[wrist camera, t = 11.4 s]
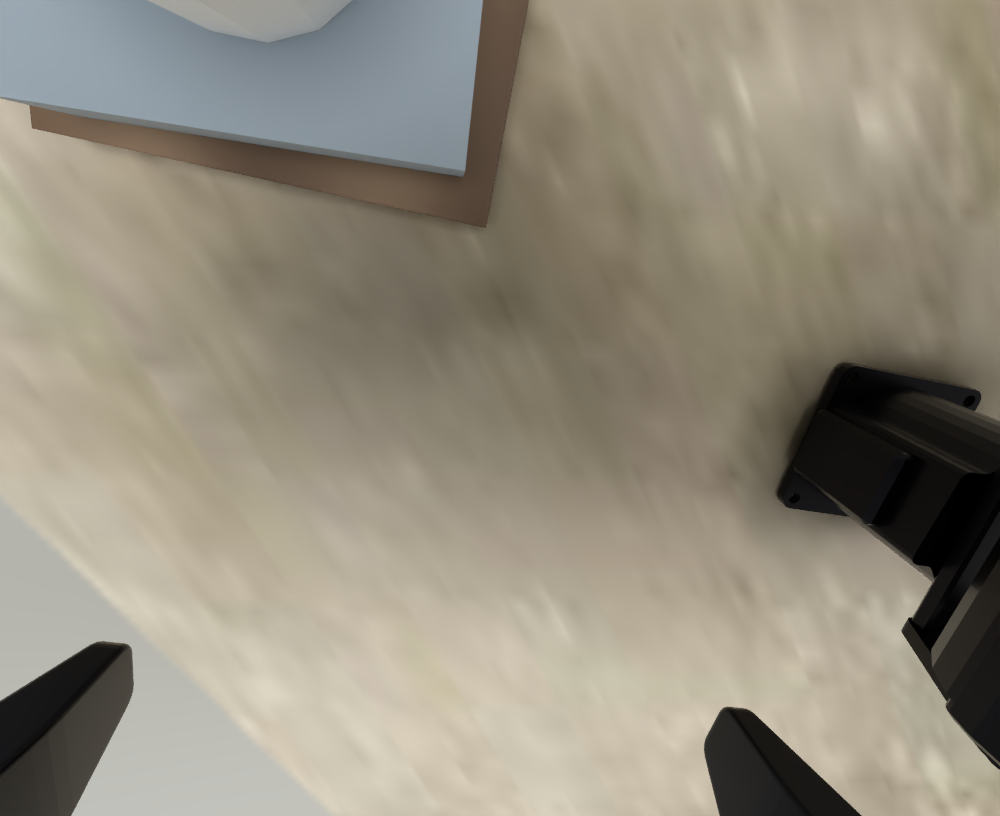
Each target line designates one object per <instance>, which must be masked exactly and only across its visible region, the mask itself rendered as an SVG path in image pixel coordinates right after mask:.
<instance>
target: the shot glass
mask: <svg viewBox="0 0 1000 816" xmlns="http://www.w3.org/2000/svg"><path fill="white" fill-rule="evenodd" d="M148 1H150V2H152V3H154V4H156V5H158V6H161V7H163V8H165V9H167V10H169V11H171V12H173V13H175V14H177V15H179V16H181V17H183V18H185V19H187V20H189V21H191V22H193V23H196V24H198V25H200V26H202V27H204V28H206V29H208V30H210V31H213V32H218V33H222V34H227V35H232V36H237V37H242V38H247V39H251V40H256V41H261V42H266V43H270V42H274V41H278V40H282V39H285V38H289V37H293V36H297V35H301V34H305V33H309V32H313V31H316V30H320V29H321V28H322V27H323V26H324V25H326V24H327V23H328V22H329V21H330V20H331V19H332V18H333V17H334V16H335V15H337V14H338V13H339V12H340V11H341V10H342V9H343V8H344V7H345V6H347V5H348V4H349V3H350V2H351V1H352V0H148Z"/></svg>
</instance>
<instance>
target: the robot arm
mask: <svg viewBox="0 0 1000 816" xmlns="http://www.w3.org/2000/svg"><path fill="white" fill-rule="evenodd" d="M850 373H851V377H850V378H849V379H848V380H846V378H847V376H848V375H849V374H850ZM964 399H965V400H964ZM980 400H981V394H980V392H979V391H977V390H975V389H972V388H969V387H966V386H961V385H956V384H951V383H946V382H941V381H936V380H931V379H926V378H921V377H916V376H911V375H906V374H901V373H896V372H891V371H886V370H881V369H876V368H872V367H867V366H862V365H857V364H852V363H846V364H843V365H841V366H840V367H839V368H837V370H836V371H835V373H834V375H833V377H832V379H831V381H830V383H829V385H828V387H827V390H826V392H825V394H824V396H823V398H822V400H821V402H820V405H819V407H818V409H817V411H816V413H815V415H814V417H813V420H812V422H811V424H810V426H809V428H808V430H807V432H806V434H805V437H804V439H803V441H802V443H801V445H800V447H799V449H798V452H797V454H796V456H795V458H794V460H793V462H792V464H791V467H790V469H789V471H788V473H787V475H786V477H785V479H784V482H783V484H782V486H781V488H780V490H779V493H778V499H779V500H780V501H781V502H782V503H783V504H784V505H785V506H786V507H788V508H793V509H800V510H807V511H813V512H820V513H827V514H834V515H841V516H848V517H851V518H852V519H853V520H855V521H856V522H857V523H858V524H860V525H861V526H862V527H863V528H865V529H866V530H867V531H869V532H870V533H871V534H872V535H874V536H875V537H876V538H877V539H879V540H880V541H881V542H883V543H884V544H885V545H886V546H888V547H889V548H890V549H891V550H893V551H894V552H895V553H896V554H898V555H899V556H900V557H902V558H903V559H904V560H905V561H907V562H908V563H909V564H910V565H912V566H913V567H914V568H915V569H917V570H918V571H919V572H921V573H922V574H923V575H924V576H926V577H927V578H928V579H929V580H931V581H932V582H933V583H932V584H931V586H930V588H929V590H928V591H927V593H926V595H925V597H924V599H923V600H922V602H921V604H920V606H919V607H918V609H917V611H916V613H915V614H914V616H913V618H912V617H911V618H908V620H907V621H906V623H905V625H904V627H903V629H902V630H901V631H902V633H903V635H904V636H905V638H906V639H907V641H908V642H909V644H910V646H911V647H912V649H913V650H914V652H915V653H916V655H917V656H918V658H919V659H920V661H921V663H922V664H923V666H924V667H925V669H926V670H927V672H928V673H929V675H930V676H931V678H932V680H933V681H934V683H935V684H936V686H937V687H938V689H939V690H940V692H941V693H942V695H943V697H944V698H945V700H946V701H947V703H946V709H947V710H948V712H949V714H950V715H951V717H952V718H953V720H954V721H955V722H956V723H957V724H958V725H959V726H960V727H961V729H962V730H963V731H964V732H965V733H966V734H967V735H968V736H969V737H970V739H971V740H972V741H973V742H974V743H975V744H976V745H977V747H978V748H979V749H980V750H981V752H982V753H983V754H984V755H985V756H986V757H987V758H988V759H989V761H990V762H991V763H992V764H993V765H994V766H996V767H997V768H998V769H1000V421H998V420H995V419H993V418H990V417H988V416H985V415H983V414H980V413H978V412H975V410H976V408H977V406H978V405H979V403H980ZM792 494H794V495H793V496H792V497H790V496H791V495H792ZM789 497H790V498H789ZM133 685H134V682H133V662H132V649H131V647H130V646H129V645H128V644H124V643H114V642H105V641H102V642H96V643H94V644H91V645H90V646H88V647H86V648H84V649H83V650H81V651H80V652H78V653H76V654H75V655H73V656H72V657H70V658H68V659H67V660H65V661H63V662H62V663H60V664H59V665H57V666H56V667H54V668H52V669H51V670H49V671H47V672H46V673H44V674H43V675H41V676H39V677H38V678H36V679H35V680H33V681H31V682H30V683H28V684H27V685H25V686H23V687H22V688H20V689H19V690H17V691H15V692H14V693H12V694H11V695H9V696H7V697H6V698H4V699H3V700H1V701H0V816H71V815H72V813H73V811H74V809H75V807H76V805H77V803H78V801H79V800H80V798H81V796H82V794H83V792H84V790H85V788H86V786H87V784H88V781H89V780H90V778H91V776H92V774H93V772H94V770H95V768H96V766H97V764H98V763H99V761H100V759H101V757H102V755H103V753H104V751H105V749H106V747H107V745H108V743H109V741H110V739H111V737H112V735H113V733H114V731H115V729H116V727H117V726H118V724H119V722H120V720H121V718H122V716H123V714H124V712H125V710H126V708H127V706H128V704H129V701H130V699H131V696H132V693H133ZM704 752H705V759H706V763H707V767H708V771H709V775H710V779H711V783H712V787H713V791H714V795H715V799H716V803H717V807H718V811H719V815H720V816H861V815H860V814H859V813H858V812H857V811H856V810H855V809H854V808H853V807H852V806H851V805H850V804H849V803H848V802H847V801H846V800H844V799H843V798H842V797H841V796H840V795H839V794H838V793H837V792H836V791H835V790H834V789H833V788H832V787H831V786H830V785H829V784H828V783H827V782H826V781H824V780H823V779H822V778H821V777H820V776H819V775H818V774H817V773H816V772H815V771H814V770H813V769H812V768H811V767H810V766H809V765H808V764H807V763H806V762H804V761H803V760H802V759H801V758H800V757H799V756H798V755H797V754H796V753H795V752H794V751H793V750H792V749H791V748H790V747H789V746H788V745H787V744H786V743H784V742H783V741H782V740H781V739H780V738H779V737H778V736H777V735H776V734H775V733H774V732H773V731H772V730H771V729H770V728H769V727H768V726H767V725H766V724H765V723H763V722H762V721H761V720H760V719H759V718H758V717H757V716H756V715H755V714H754V713H753V712H751V711H750V710H747V709H744V708H735V707H725V708H723V709H722V710H721V711H720V712H719V714H718V716H717V718H716V720H715V722H714V724H713V725H712V727H711V729H710V731H709V733H708V735H707V737H706V739H705V744H704Z"/></svg>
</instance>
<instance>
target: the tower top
mask: <svg viewBox="0 0 1000 816" xmlns="http://www.w3.org/2000/svg"><path fill="white" fill-rule="evenodd" d="M482 5H483V0H352V1H351V2H350V3H349V4H348V5H347V6H345V7H344V8H343V9H342V10H341V11H340V12H339V13H338V14H337V15H335V16H334V17H333V18H332V19H331V20H330V21H329V22H328V23H327V24H326V25H324V26H323V27H322V28H321V29H320V30H316V31H313V32H309V33H305V34H301V35H297V36H293V37H289V38H285V39H282V40H278V41H274V42H270V43H266V42H261V41H256V40H251V39H247V38H242V37H237V36H232V35H227V34H222V33H218V32H213V31H210V30H208V29H206V28H204V27H202V26H200V25H198V24H196V23H193V22H191V21H189V20H187V19H185V18H183V17H181V16H179V15H177V14H175V13H173V12H171V11H169V10H167V9H165V8H163V7H161V6H158V5H156V4H154V3H152V2H150V1H148V0H0V98H1V99H6V100H10V101H14V102H19V103H23V104H27V105H32V106H36V107H40V108H44V109H49V110H53V111H57V112H62V113H66V114H70V115H75V116H80V117H86V118H92V119H99V120H105V121H111V122H118V123H124V124H130V125H137V126H143V127H149V128H156V129H162V130H168V131H175V132H181V133H187V134H194V135H200V136H206V137H213V138H219V139H225V140H232V141H238V142H244V143H251V144H257V145H263V146H270V147H276V148H282V149H289V150H295V151H301V152H308V153H314V154H320V155H326V156H333V157H339V158H345V159H352V160H358V161H364V162H371V163H377V164H383V165H390V166H396V167H402V168H409V169H415V170H421V171H428V172H434V173H440V174H447V175H453V176H459V177H463V175H464V173H465V167H466V158H467V148H468V139H469V129H470V120H471V110H472V100H473V91H474V81H475V72H476V62H477V53H478V43H479V34H480V24H481V14H482Z"/></svg>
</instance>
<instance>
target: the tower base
mask: <svg viewBox="0 0 1000 816" xmlns="http://www.w3.org/2000/svg"><path fill="white" fill-rule="evenodd" d="M528 1H529V0H483V5H482V14H481V24H480V34H479V43H478V53H477V62H476V72H475V81H474V91H473V100H472V110H471V120H470V129H469V139H468V148H467V158H466V167H465V173H464V175H463V177H459V176H453V175H447V174H440V173H434V172H428V171H421V170H415V169H409V168H402V167H396V166H390V165H383V164H377V163H371V162H364V161H358V160H352V159H345V158H339V157H333V156H326V155H320V154H314V153H308V152H301V151H295V150H289V149H282V148H276V147H270V146H263V145H257V144H251V143H244V142H238V141H232V140H225V139H219V138H213V137H206V136H200V135H194V134H187V133H181V132H175V131H168V130H162V129H156V128H149V127H143V126H137V125H130V124H124V123H118V122H111V121H105V120H99V119H92V118H86V117H80V116H75V115H70V114H66V113H62V112H57V111H53V110H49V109H44V108H40V107H36V106H32V105H30V114H31V123H32V128H34V129H38V130H43V131H47V132H52V133H56V134H61V135H66V136H70V137H75V138H79V139H84V140H88V141H93V142H97V143H102V144H107V145H111V146H116V147H120V148H125V149H129V150H134V151H138V152H143V153H148V154H152V155H157V156H161V157H166V158H170V159H175V160H179V161H184V162H189V163H193V164H198V165H202V166H207V167H211V168H216V169H220V170H225V171H229V172H234V173H239V174H243V175H248V176H252V177H257V178H261V179H266V180H270V181H275V182H280V183H284V184H289V185H293V186H298V187H302V188H307V189H311V190H316V191H321V192H325V193H330V194H334V195H339V196H343V197H348V198H352V199H357V200H362V201H366V202H371V203H375V204H380V205H384V206H389V207H393V208H398V209H403V210H407V211H412V212H416V213H421V214H425V215H430V216H434V217H439V218H444V219H448V220H453V221H457V222H462V223H466V224H471V225H475V226H480V227H485V228H486V224H487V218H488V213H489V208H490V203H491V197H492V192H493V187H494V181H495V176H496V171H497V165H498V160H499V155H500V149H501V144H502V139H503V134H504V128H505V123H506V118H507V112H508V107H509V102H510V96H511V91H512V86H513V81H514V75H515V70H516V65H517V59H518V54H519V49H520V43H521V38H522V33H523V28H524V22H525V17H526V12H527V6H528Z"/></svg>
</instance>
